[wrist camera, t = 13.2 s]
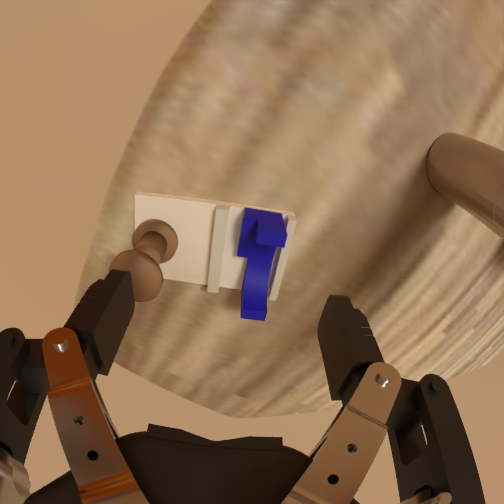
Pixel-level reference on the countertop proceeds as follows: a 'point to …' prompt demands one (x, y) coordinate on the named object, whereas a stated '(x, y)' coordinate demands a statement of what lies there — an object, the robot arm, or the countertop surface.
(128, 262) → the walnut knob
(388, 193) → the countertop surface
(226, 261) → the ridged board
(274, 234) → the cable clip
